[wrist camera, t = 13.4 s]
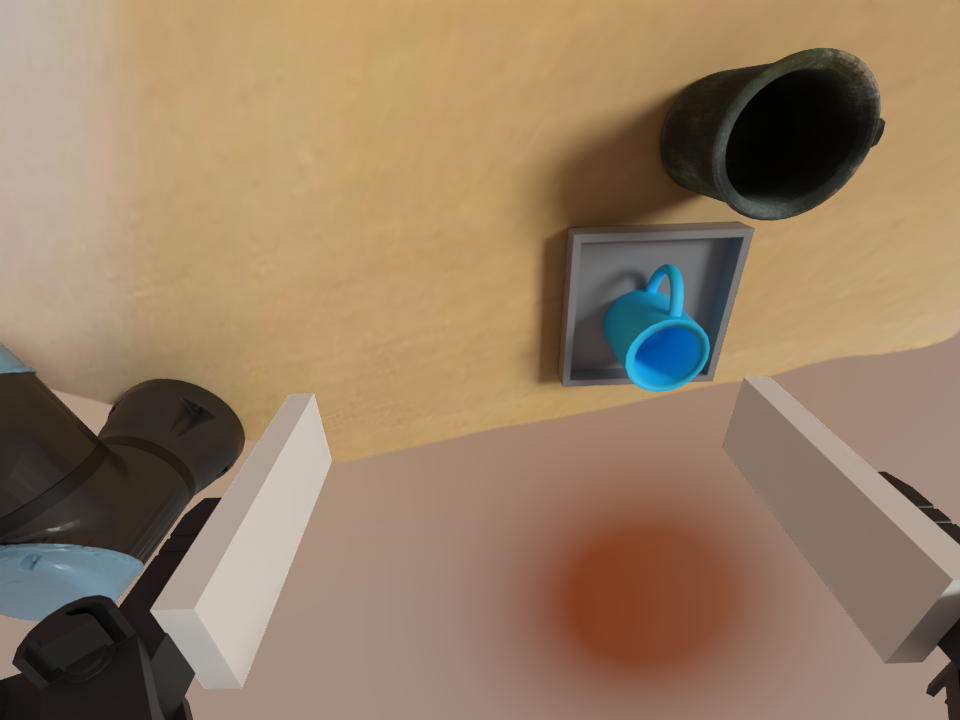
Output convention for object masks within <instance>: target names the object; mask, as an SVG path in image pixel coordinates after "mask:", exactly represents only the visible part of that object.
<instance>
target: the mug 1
mask: <svg viewBox="0 0 960 720" xmlns="http://www.w3.org/2000/svg"><path fill="white" fill-rule="evenodd" d="M666 274H667V276H668V278H669V282H670V298H669V297H668V296H667V295H665V294H663V293H662V292H660V291H659V290H657V289H658V286H659V284H660V282H661V280H662V279H663V277H664V276H665V275H666ZM683 299H684V286H683V280H682V276H681V273H680V271H679V270H678V269H677V267H676V266H674V265H669V264H664V265H662V266H661V267H659V268H657V269H656V271H655V272H654V273H653V274H652V276H651V277H650V280H649V282H648V284H647V286H646V289H636V290H634V291H631V292H629V293H626V294H624V295H623V296H621V297H620V298H619V299H617V300H616V301H615V302H614V303H613V305H612V306H611V307H610V308H609V310H608V312H607V314H606V317H605V319H604V334H605V337H606V340H607V341H608V343H609V345H610V346H611V348H612V350H613V351H614V353H615V355H616V356H617V358H618V360H619V361H620V363H621V365H622V366H623V368H624V370H625V371H626V373H627V375H628V376H629V378H630V379H631V380H632V381H633V382H634V384H635V385H637V386H639V387H641V388H643V389H645V390H649V391H655V392H660V391H670V390H672V389H675V388H678V387H681V386H683V385H684V384H686V383H688V382H689V381H691V380H692V379H693V378H694V377H695V376H696V375H697V374H698V373H699V372H700V371H701V370H702V369H703V367H704V365H705V363H706V361H707V359H708V355H709V350H710V345H709V340H708V336H707V335H706V333H705V332H704V330H703V329H702V328H701V327H700V326H699V325H698V324H697V323H696V322H695V321H694V320H693V319H692V318H691V317H690V316H688V315H687V314H686V313H685V312H684V311H683V310H682V309H683Z"/></svg>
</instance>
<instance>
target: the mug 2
mask: <svg viewBox="0 0 960 720" xmlns="http://www.w3.org/2000/svg"><path fill="white" fill-rule="evenodd" d="M880 110H881V108H880V94H879V89H878V85H877V82H876V80H875V78H874V76H873V74H872V72H871V71H870V70H869V68H868V67H867V66H866V64H865V63H863V62H862V61H861V60H860V59H858V58H857V57H856V56H853V55H851V54H849V53H847V52H845V51H841V50H837V49H833V48H815V49H809V50H804V51H801V52H797V53H794V54H791V55H789V56H787V57H785V58H783V59H781V60H779V61H777V62H775V63H770V64H764V65H758V66H751V67H745V68H739V69H733V70H727V71H720V72H717V73H714V74H711V75H709V76H707V77H705V78H703V79H701V80H699V81H698V82H696V83H695V84H693V85H692V86H691V87H690V88H689V89H688V90H686V91H685V92H684V93H683V94H682V96H681V97H680V98H679V99H678V100H677V101H676V103H675V104H674V106H673V107H672V109H671V111H670V113H669V115H668V117H667V119H666V121H665V124H664V127H663V131H662V136H661V146H660V149H661V157H662V161H663V165H664V167H665V169H666V171H667V173H668V174H669V176H670V177H671V178H672V179H673V180H674V181H675V182H676V183H677V184H679V185H680V186H682V187H683V188H686V189H689V190H691V191H694V192H697V193H700V194H703V195H705V196H708V197H711V198H714V199H717V200H720V201H722V202H725V203H727V204H728V205H729V206H730V207H731V208H732V209H733V210H735V211H736V212H738V213H739V214H741V215H743V216H746V217H749V218H752V219H757V220H779V219H786V218H790V217H793V216H797V215H800V214H802V213H804V212H807V211H809V210H811V209H813V208H815V207H816V206H818V205H820V204H822V203H823V202H824V201H826V200H827V199H829V198H830V197H831V196H833V195H834V194H835V193H836V192H837V191H838V190H839V189H841V188H842V187H843V186H844V185H845V184H846V183H847V181H848V180H849V179H850V178H851V177H852V176H853V175H854V173H855V172H856V171H857V169H858V168H859V167H860V165H861V164H862V162H863V161H864V159H865V157H866V155H867V154H868V152H869V150H870V148H871V147H873V146H875V145H877V144H878V142H879V140H880V138H881V136H882V134H883V130H884V126H885V121H884V120H883V119H882V118H880Z"/></svg>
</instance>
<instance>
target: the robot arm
mask: <svg viewBox="0 0 960 720" xmlns="http://www.w3.org/2000/svg"><path fill="white" fill-rule="evenodd" d="M36 373H37V372H36V371H35V370H34V369H33V368H31V367H27V366H26V365H25V364H24V363H23V362H22V361H20V360H19V359H18V358H17V357H16V356H15V355H14V354H13V353H12V352H11V351H9V350H8V349H7V348H6V347H5V346H4V345H3V344H1V343H0V614H1V615H5V616H8V617H13V618H19V619H24V620H33V621H41V622H40V623H39V624H38V625H36V626H35V627H34V628H33V629H32V630H31V631H30V632H29V633H28V634H27V636H26V637H25V638H24V640H23V641H22V643H21V644H20V645H19V647H18V648H17V651H16V654H15V657H14V660H13V665H14V666H16V667H17V668H18V669H19V670H20V671H21V672H22V673H20V674H17V675H14V676H11V677H8V678H5V679H3V680H0V720H193V718H192V713H191V710H190V706H189V702H188V701H187V699H186V698H185V694H186V692H187V690H188V688H189V686H190V683H191V682H192V680H193V678H194V676H196V678H197V679H198V681H199V682H200V684H201V685H202V686H203V688H204V689H205V690H207V689H233V688H242V687H243V685H244V682H245V680H246V677H247V675H248V672H249V670H250V667H251V665H252V662H253V660H254V657H255V655H256V652H257V650H258V647H259V644H260V642H261V639H262V637H263V634H264V632H265V629H266V627H267V624H268V621H269V619H270V617H271V614H272V612H273V609H274V606H275V604H276V601H277V599H278V596H279V594H280V591H281V589H282V586H283V584H284V581H285V579H286V576H287V573H288V571H289V568H290V566H291V563H292V561H293V558H294V556H295V553H296V551H297V548H298V546H299V543H300V541H301V538H302V536H303V533H304V530H305V528H306V526H307V523H308V520H309V518H310V515H311V513H312V510H313V508H314V505H315V503H316V500H317V497H318V495H319V493H320V490H321V487H322V485H323V482H324V480H325V477H326V475H327V472H328V470H329V467H330V464H331V462H332V460H331V456H330V452H329V448H328V445H327V441H326V437H325V433H324V429H323V426H322V422H321V418H320V414H319V410H318V407H317V403H316V399H315V395H314V393H301V394H288V396H287V397H286V399H285V401H284V402H283V404H282V405H281V407H280V408H279V410H278V411H277V413H276V415H275V416H274V418H273V419H272V421H271V422H270V424H269V425H268V427H267V429H266V430H265V432H264V433H263V435H262V436H261V438H260V439H259V441H258V443H257V444H256V446H255V447H254V449H253V450H252V452H251V454H250V455H249V457H248V458H247V460H246V461H245V463H244V464H243V466H242V468H241V469H240V471H239V472H238V474H237V475H236V477H235V478H234V480H233V482H232V483H231V485H230V486H229V488H228V489H227V491H226V492H225V494H224V496H223V497H222V498H204V499H203V500H202V501H201V502H200V503H198V504H197V505H196V506H195V507H194V508H192V509H191V510H190V511H189V512H188V513H187V514H185V515H184V517H183V518H182V519H181V521H180V522H179V524H178V525H177V526H176V528H175V529H174V531H173V532H172V533H171V537H170V539H167V540H166V542H165V543H164V545H163V546H162V548H161V549H160V550H159V554H158V555H157V556H155V558H154V559H153V560H152V562H151V563H150V564H149V566H148V567H147V569H146V570H145V572H144V573H143V575H142V576H141V577H140V579H139V580H138V581H137V583H136V584H135V586H134V587H133V588H132V590H131V591H130V593H129V594H128V596H127V597H126V598H125V600H124V601H123V603H122V604H121V605H120V607H119V608H118V607H117V605H116V604H115V602H116V601H117V600H118V598H119V597H120V596H121V595H122V594H123V592H124V591H125V590H126V589H127V588H128V586H129V585H130V584H131V583H132V582H133V580H134V579H135V578H136V577H137V576H139V575H140V573H141V572H142V571H143V569H144V566H145V564H146V562H147V561H148V560H149V558H150V557H151V556H152V554H153V553H154V551H155V550H156V549H157V547H158V546H159V544H160V543H161V541H162V540H163V538H164V537H165V536H166V534H167V533H168V531H169V530H170V528H171V527H172V526H173V524H174V523H175V521H176V520H177V519H178V517H179V516H180V515H181V513H182V512H183V510H184V509H185V507H186V506H187V504H188V503H189V502H190V500H191V499H192V498H193V496H194V495H196V494H197V493H199V492H200V491H201V490H203V489H204V488H206V487H207V486H208V485H210V484H211V483H212V482H213V481H215V480H216V479H218V478H219V477H221V476H222V475H224V474H225V473H226V472H228V471H229V470H230V469H231V467H232V466H233V465H234V463H235V462H236V460H237V459H238V457H239V456H240V454H241V453H242V450H243V447H244V442H245V436H244V431H243V427H242V425H241V423H240V421H239V419H238V417H237V416H236V414H235V413H234V412H233V410H232V409H231V408H230V407H229V406H228V405H227V404H226V403H225V402H223V401H222V400H221V399H220V398H218V397H217V396H216V395H214V394H212V393H211V392H209V391H207V390H205V389H203V388H201V387H199V386H196V385H193V384H191V383H187V382H183V381H178V380H171V379H157V380H150V381H146V382H143V383H140V384H138V385H136V386H135V387H133V388H132V389H130V390H129V391H128V392H127V393H126V394H124V395H123V396H122V397H121V398H120V399H119V400H118V401H117V402H116V403H115V404H114V405H113V407H112V409H111V411H110V413H109V416H108V420H107V422H106V424H105V425H104V427H103V428H102V430H101V431H100V433H99V435H98V436H96V435H95V434H94V433H93V432H92V431H91V430H90V429H89V428H88V427H87V426H86V425H84V423H83V422H82V421H81V420H80V419H79V418H78V417H77V416H76V415H75V414H74V413H73V412H72V411H71V410H70V409H69V408H68V407H67V406H66V405H65V404H64V403H63V402H62V401H61V400H60V399H59V398H58V397H57V396H56V395H55V394H54V393H53V392H52V391H51V390H50V389H49V388H48V387H47V386H46V385H45V384H44V383H43V382H42V381H41V380H40V379H39V378H38V377H37V376H36V375H35V374H36ZM722 448H723V449H724V450H725V452H726V453H727V454H728V456H729V457H730V458H731V460H732V461H733V462H734V464H735V465H736V466H737V467H738V469H739V470H740V471H741V473H742V474H743V475H744V477H745V478H746V479H747V481H748V482H749V483H750V485H751V486H752V487H753V489H754V490H755V491H756V493H757V494H758V495H759V497H760V498H761V499H762V501H763V502H764V503H765V505H766V506H767V507H768V508H769V510H770V511H771V513H772V514H773V515H774V517H775V518H776V519H777V521H778V522H779V523H780V524H781V526H782V527H783V529H784V530H785V531H786V533H787V534H788V535H789V536H790V538H791V539H792V541H793V542H794V543H795V545H796V546H797V547H798V549H799V550H800V551H801V552H802V554H803V555H804V557H805V558H806V559H807V560H808V562H809V563H810V564H811V566H812V567H813V568H814V570H815V571H816V572H817V574H818V575H819V576H820V578H821V579H822V580H823V582H824V583H825V584H826V586H827V587H828V588H829V590H830V591H831V592H832V594H833V595H834V596H835V598H836V599H837V600H838V602H839V603H840V604H841V605H842V607H843V608H844V610H845V611H846V612H847V614H848V615H849V616H850V618H851V619H852V620H853V622H854V623H855V624H856V626H857V627H858V628H859V630H860V631H861V632H862V634H863V635H864V636H865V638H866V639H867V640H868V642H869V643H870V644H871V646H872V647H873V648H874V649H875V651H876V652H877V653H878V655H879V656H880V658H881V659H882V660H883V661H884V663H885V664H886V663H912V662H923V661H924V660H925V659H926V657H927V656H928V655H929V654H930V653H931V652H932V651H933V650H934V648H935V647H936V646H937V645H938V646H939V647H940V648H941V649H942V651H943V652H944V653H945V654H946V655H947V656H948V657H949V659H950V660H951V662H950V663H949V664H948V665H947V666H946V667H945V668H944V669H943V670H942V671H941V672H940V673H939V674H938V675H937V676H936V677H935V679H933V681H932V682H931V683H930V684H929V685H928V689H927V692H926V693H927V694H929V695H931V696H933V697H934V696H935V695H936V694H937V693H938V692H939V691H940V690H941V689H942V688H943V687H946V693H947V699H946V700H945V703H946V704H947V705H948V717H949V720H960V527H959V526H957V525H956V524H952V523H951V520H950V519H949V518H948V517H947V516H946V515H944V514H943V513H942V512H941V511H940V510H939V509H934V507H933V504H931V503H930V502H929V501H928V500H927V499H926V498H924V497H923V496H922V495H921V494H919V492H917V491H916V490H915V489H914V488H913V487H911V486H909V485H908V484H906V483H904V482H902V481H901V480H899V479H897V478H895V477H894V476H892V475H890V474H888V473H887V472H876V471H875V470H874V469H873V468H872V467H871V466H870V465H869V464H867V463H866V462H865V461H864V460H863V459H862V458H861V457H860V456H859V455H857V454H856V453H855V452H854V451H853V450H852V449H851V448H849V447H848V446H847V445H846V444H845V443H844V442H843V441H841V440H840V439H839V438H838V437H837V436H836V435H835V434H834V433H833V432H831V431H830V430H829V429H828V428H827V427H826V426H824V425H823V424H822V423H821V422H820V421H819V420H818V419H816V418H815V417H814V416H813V415H812V414H811V413H810V412H809V411H808V410H806V409H805V408H804V407H803V406H802V405H801V404H800V403H798V402H797V401H796V400H795V399H794V398H793V397H792V396H791V395H790V394H788V393H787V392H786V391H785V390H784V389H783V388H782V387H780V386H779V385H778V384H777V383H776V382H775V381H774V380H773V379H771V378H770V377H769V376H763V377H744V379H743V382H742V385H741V388H740V391H739V394H738V397H737V401H736V404H735V407H734V410H733V414H732V417H731V420H730V423H729V426H728V429H727V432H726V435H725V439H724V442H723V445H722Z"/></svg>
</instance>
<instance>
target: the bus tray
mask: <svg viewBox="0 0 960 720" xmlns="http://www.w3.org/2000/svg"><path fill="white" fill-rule="evenodd" d="M754 229H755V228H753V227H750V226H748V225H745V224H743V223H740V222H713V223H685V224H658V225H630V226H602V227H574V228H568V234H567V249H566V263H565V278H564V293H563V307H562V322H561V337H560V352H559V366H558V375H559V378H560V381H561V384H562V387H566V386H593V385H620V384H634V382H633V381H632V380H631V379H630V378H629V376H628V375H627V373H626V371H625V370H624V368H623V366H622V365H621V363H620V361H619V360H618V358H617V356H616V355H615V353H614V351H613V350H612V348H611V346H610V345H609V343H608V341H607V340H606V337H605V334H604V319H605V317H606V314H607V312H608V310H609V308H610V307H611V306H612V305H613V303H614V302H615V301H616V300H617V299H619V298H620V297H621V296H623V295H624V294H626V293H629V292H631V291H634V290H636V289H646V286H647V284H648V282H649V280H650V277H651V276H652V274H653V273H654V272H655V271H656V269H657V268H659V267H661V266H662V265H664V264H669V265H674V266H676V267H677V269H678V270H679V271H680V273H681V276H682V280H683V286H684V299H683V309H682V310H683V311H684V312H685V313H686V314H687V315H688V316H690V317H691V318H692V319H693V320H694V321H695V322H696V323H697V324H698V325H699V326H700V327H701V328H702V329H703V330H704V332H705V333H706V335H707V336H708V340H709V345H710V350H709V355H708V359H707V361H706V363H705V365H704V367H703V369H702V370H701V371H700V372H699V373H698V374H697V375H696V376H695V377H694V378H693V379H692V380H691V381H689V382H702V381H713V377H714V374H715V370H716V366H717V363H718V359H719V356H720V352H721V348H722V345H723V341H724V337H725V334H726V330H727V327H728V323H729V319H730V316H731V312H732V308H733V305H734V301H735V298H736V294H737V290H738V287H739V283H740V279H741V276H742V272H743V269H744V265H745V261H746V258H747V254H748V250H749V247H750V243H751V240H752V236H753V232H754ZM657 290H659V291H660V292H662V293H663V294H665V295H667V296H668V297H669V298H670V282H669V278H668V276H667V274H666V275H665V276H664V277H663V279H662V280H661V282H660V284H659V286H658V289H657Z"/></svg>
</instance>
